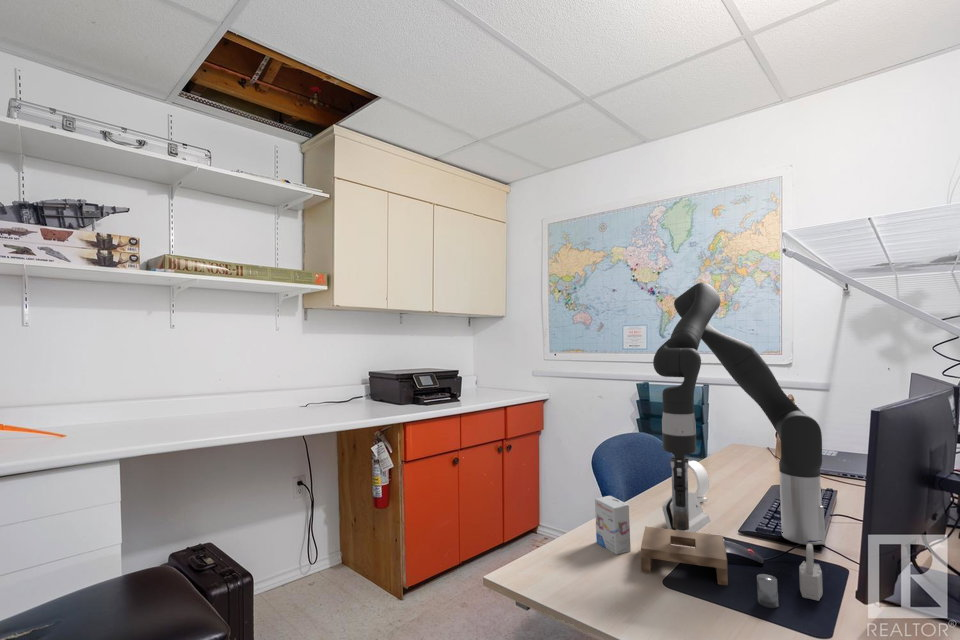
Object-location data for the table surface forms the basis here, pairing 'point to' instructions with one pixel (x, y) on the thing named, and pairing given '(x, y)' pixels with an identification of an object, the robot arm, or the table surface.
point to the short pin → (767, 590)
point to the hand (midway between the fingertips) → (680, 503)
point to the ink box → (612, 524)
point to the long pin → (680, 510)
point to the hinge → (695, 514)
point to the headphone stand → (700, 480)
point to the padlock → (810, 576)
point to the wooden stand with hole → (684, 550)
